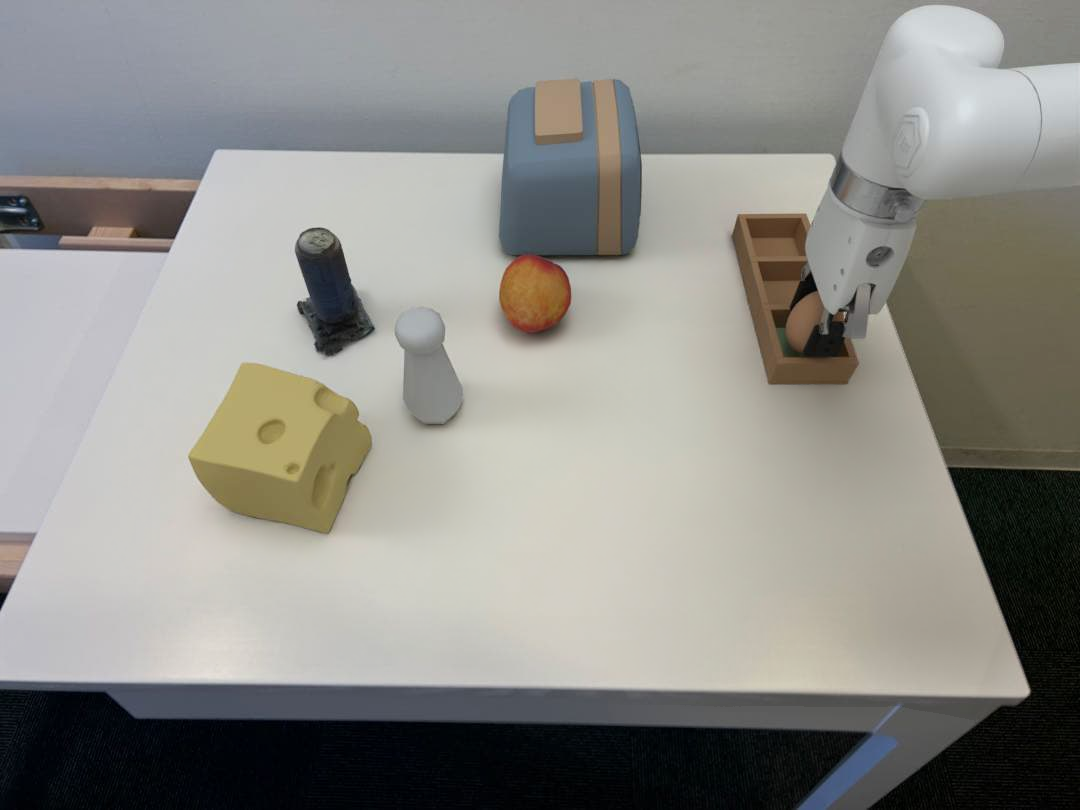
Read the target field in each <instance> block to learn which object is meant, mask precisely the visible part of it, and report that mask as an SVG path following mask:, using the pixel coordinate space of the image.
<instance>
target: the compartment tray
mask: <svg viewBox="0 0 1080 810" xmlns="http://www.w3.org/2000/svg"><path fill="white" fill-rule="evenodd" d="M735 219H736V220H735V223H734V226H733V231H732V234H731V239H732V243H733V247H734V251H735V256H736V259H737V263H738V267H739V271H740V275H741V279H742V283H743V287H744V291H745V296H746V300H747V303H748V307H749V311H750V315H751V319H752V323H753V327H754V331H755V335H756V339H757V342H758V347H759V351H760V355H761V359H762V363H763V367H764V371H765V376H766V379H767V383H768V385H844V384H845V385H846V384H848V383H849V382H850V381H851V378H852V376H853V374H854V373H855V371H856V369H857V367H858V366H859V364H860V361H859V358H858V355H857V353H856V350H855V347H854V344H853V341H852V339H847V338H845V339H844V341H843V343H842V345H841V347H840V349H839V351H838V353H837V355H835V356H833V357H805V356H804V355H801V354H799V353H797V352H796V351H794V350H793V349H792V348H791V346H790V344H789V343H788V340H787V337H786V324H787V320H788V317H789V315H790V313H791V310H790V305H791V302H792V300H793V297H794V295H795V292H796V290H797V287H798V285H799V282H800V281H805V280H803V279H802V277H801V272H802V269H803V267H804V266H805V264H806V263H807V256H806V251H805V242H806V238H807V234H808V231H809V229H810V226H811V223H810V220H809V217H808V214H807V213H804V212H803V213H737V216H736V218H735Z"/></svg>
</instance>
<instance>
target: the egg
mask: <svg viewBox="0 0 1080 810" xmlns="http://www.w3.org/2000/svg"><path fill="white" fill-rule="evenodd" d="M823 310H824V305H823V303H822V300H821V297H820V295H819V292H818V291H815V292H812V293H810V294H809V295H807V296H805V297H804V298H803V299H802V300H801V301H799V302H798V303H797V304H796V305H795V307H794V308H793V310H792V311H791V313H790V315H789V317H788V320H787V324H786V337H787V340H788V343H789V344H790V346H791V348H792V349H793V350H794V351H796V352H797V353H799V354H801V355H804V353H803V350H804V348H805V345H806V343H807V341H808V339H809V337H810V334H811V332H812V330H813V328H814V326H815V325H820V321H821V317H822V314H823ZM844 319H845V312H837V313H836V314H835V315H834V316H833V319H832V321H844Z"/></svg>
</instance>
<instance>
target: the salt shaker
mask: <svg viewBox="0 0 1080 810" xmlns="http://www.w3.org/2000/svg"><path fill="white" fill-rule="evenodd" d="M394 335H395V339H396V341H397V342H398V344H399V347H400V348H401V349H402V350H403V381H402V383H403V384H402V385H403V386H402V387H403V388H402V400H403V402H404V404H405V406H406V408H407V410H408V412H409V413H410V414H412V415H413V416H415V417H416V418H417V419H418V420H420V421H421V422H423V423H424V424H425V425H429V424H431V425H434V424H435V425H444V424H445V423H447V421H449V420H450V419H451V418H452V417H453V416H454V415H455V414H457V412H458V410H459V408H460V406H461V404H462V403H463V395H464V394H463V393H464V388H463V385H462V384H461V381H460V380H459V378H458V375H457V373H456V370H455V368H454V367H453V363H452V362H451V360H450V357H449V355H448V353H447V350H446V348H445V346H444V344H443V343H444V342H445V339H446V338H445V337H446V325H445V322H444V320H443V318H442V316H441V314H440V313H439V312H437V311H436V310H434V309H432V308H430V307H424V306H418V307H412V308H410V309H407V310H405V311H404V312H402V313H401V314H400V316H398V317H397V318H396V321H395V325H394Z"/></svg>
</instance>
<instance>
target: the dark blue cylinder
mask: <svg viewBox="0 0 1080 810" xmlns="http://www.w3.org/2000/svg"><path fill="white" fill-rule="evenodd" d="M294 244H295V245H294V253H295V257H296V259H297V262H298V267H299V269H300V272H301V275H302V278H303V281H304V283H305V287H306V290H307V294H308V296H309V297H306V298H305V300H297V303H296V307H297V310H298V312H299V314H301V316H304V317H305V319H306V321H307V324H308V326H309V328H310V330H311V331H312V334H313V337H314V339H315V342H314V343H313V345H314V347H315V350H316V352H318V353H319V352H321V353H320V354H321V355H323V356H324V354H325V355H329V356H333V355H334V354H337V353H338V352H339V351H340V350H343V344H342V342H343V341H346V340H347V339H349V342H353V341H358V340H359V339H362V338H363V337H364V336H365V335H367V334H368V333H369V332H371V331H372V330H376V329H375V325H374V324H373V322H372V320H371V318H370V316H369V314H368V313H367V311H366V309H365V308H364V305H363V303H362V299H361V298H360V296H359V294H358V291H356V289H355V286H354V285H353V284H352V279H351V276H350V272H349V267H348V265H347V262H346V257H345V253H344V249H343V246H342V243H341V240H340V239H339V238H338V236H337V235H336V234H335V233H333V232H332V231H331V230H330V229H328V228H325V227H310V228H307V229H305V230H304V231H302V232H301V233H299V237H298V238H297V239H296V242H295V243H294ZM338 338H339V339H338ZM352 340H353V341H352ZM321 349H322V350H321Z"/></svg>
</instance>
